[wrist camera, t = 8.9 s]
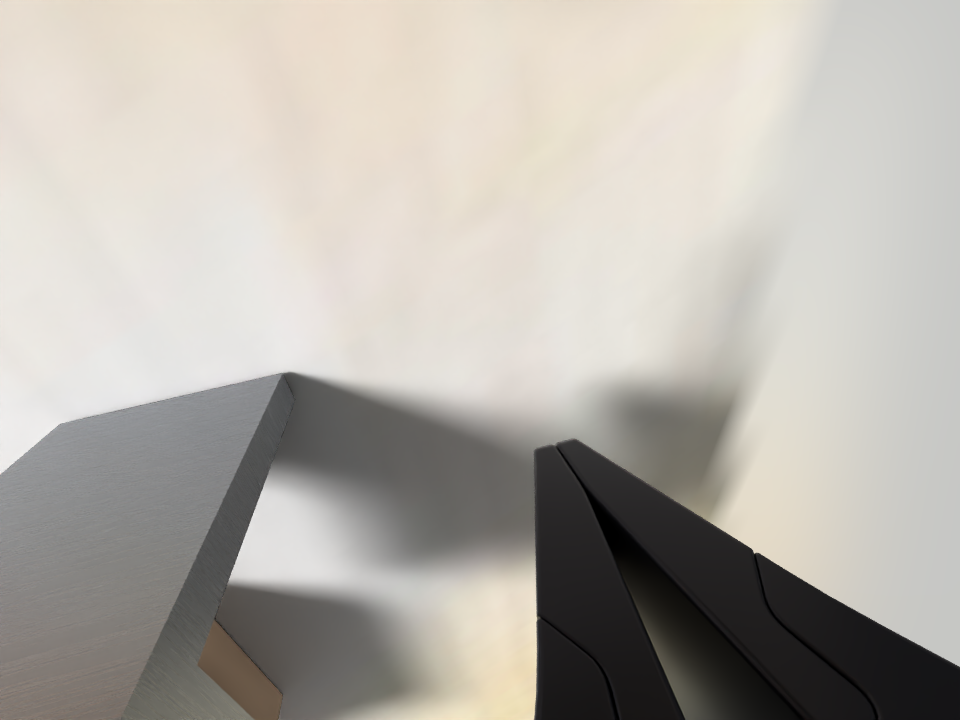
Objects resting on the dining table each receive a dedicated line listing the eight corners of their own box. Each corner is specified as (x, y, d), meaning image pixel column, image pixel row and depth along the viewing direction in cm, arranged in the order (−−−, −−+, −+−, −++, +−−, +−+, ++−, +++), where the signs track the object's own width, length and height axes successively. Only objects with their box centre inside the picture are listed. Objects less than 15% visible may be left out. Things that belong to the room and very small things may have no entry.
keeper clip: (282, 372, 10) (119, 720, 4) (353, 522, 12) (321, 856, 7) (59, 423, 9) (-505, 905, 3) (185, 567, 12) (-10, 970, 6)
